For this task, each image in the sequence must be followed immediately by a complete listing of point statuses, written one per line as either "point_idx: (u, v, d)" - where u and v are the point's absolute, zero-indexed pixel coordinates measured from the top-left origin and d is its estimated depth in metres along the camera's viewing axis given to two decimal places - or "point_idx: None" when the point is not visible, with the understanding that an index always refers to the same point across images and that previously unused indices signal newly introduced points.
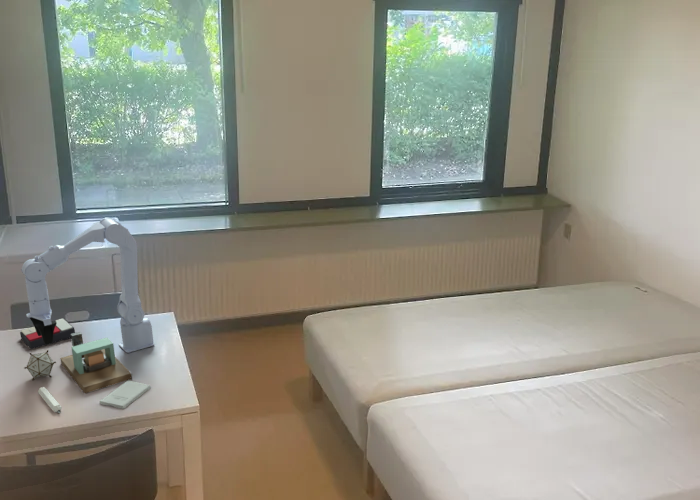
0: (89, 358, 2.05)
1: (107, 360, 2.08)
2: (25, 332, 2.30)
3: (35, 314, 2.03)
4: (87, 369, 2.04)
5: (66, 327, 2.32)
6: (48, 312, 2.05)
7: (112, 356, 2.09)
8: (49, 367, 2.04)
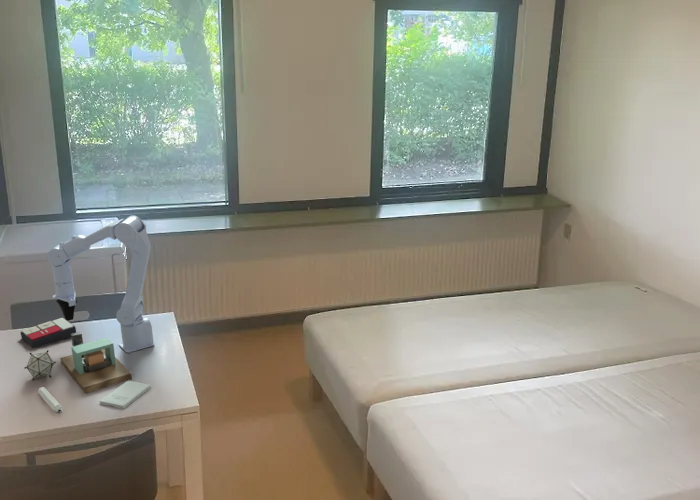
0: (89, 358, 2.05)
1: (107, 360, 2.08)
2: (26, 332, 2.30)
3: (61, 296, 2.19)
4: (87, 369, 2.04)
5: (67, 326, 2.33)
6: (72, 294, 2.20)
7: (112, 356, 2.09)
8: (49, 367, 2.04)
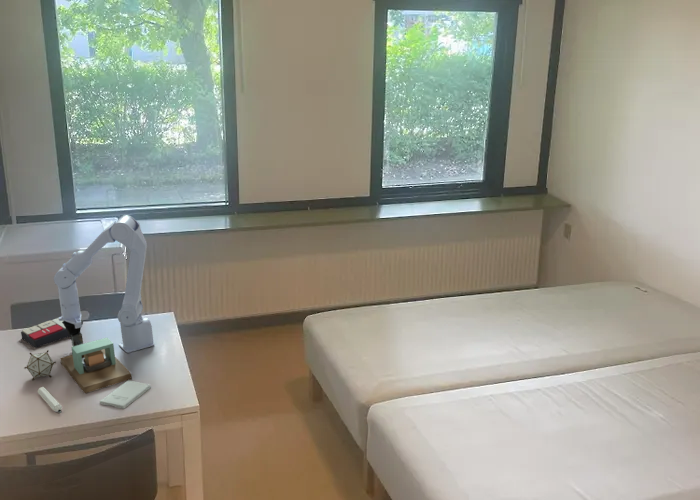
0: (89, 358, 2.05)
1: (107, 360, 2.08)
2: (27, 331, 2.30)
3: (66, 317, 2.18)
4: (87, 369, 2.04)
5: None
6: (78, 316, 2.20)
7: (112, 356, 2.09)
8: (49, 367, 2.04)
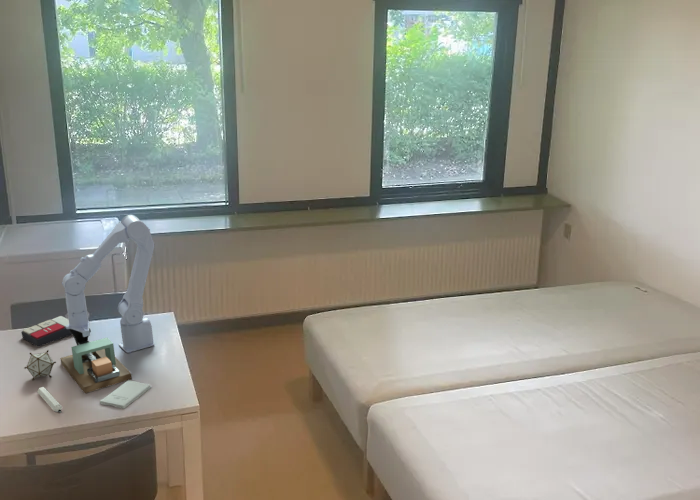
0: (97, 367, 1.99)
1: (116, 370, 2.02)
2: (28, 331, 2.31)
3: (74, 326, 2.12)
4: (96, 379, 1.98)
5: None
6: (86, 324, 2.14)
7: (112, 356, 2.09)
8: (49, 367, 2.04)
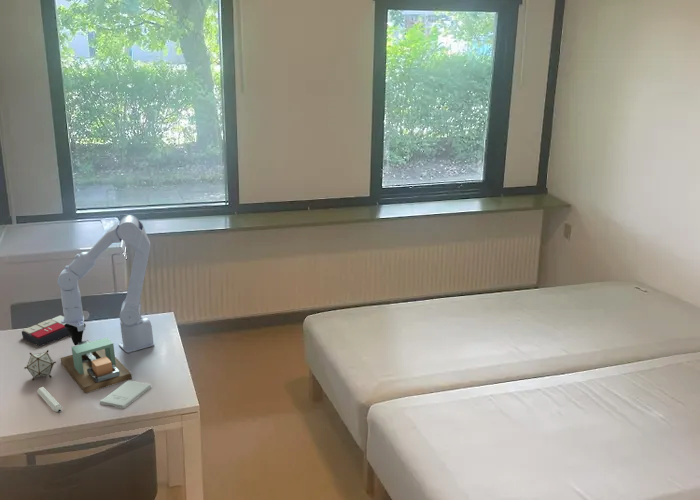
0: (97, 367, 1.99)
1: (116, 370, 2.02)
2: (28, 331, 2.31)
3: (69, 320, 2.16)
4: (96, 379, 1.98)
5: None
6: (81, 318, 2.18)
7: (112, 356, 2.09)
8: (49, 367, 2.04)
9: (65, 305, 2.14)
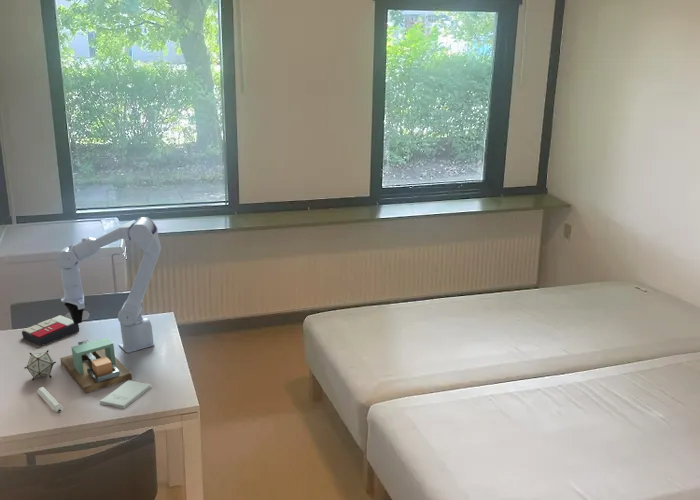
0: (97, 367, 1.99)
1: (116, 370, 2.02)
2: (29, 331, 2.31)
3: (69, 299, 2.16)
4: (96, 379, 1.98)
5: (70, 322, 2.36)
6: (81, 297, 2.18)
7: (112, 356, 2.09)
8: (49, 367, 2.04)
9: (64, 283, 2.15)
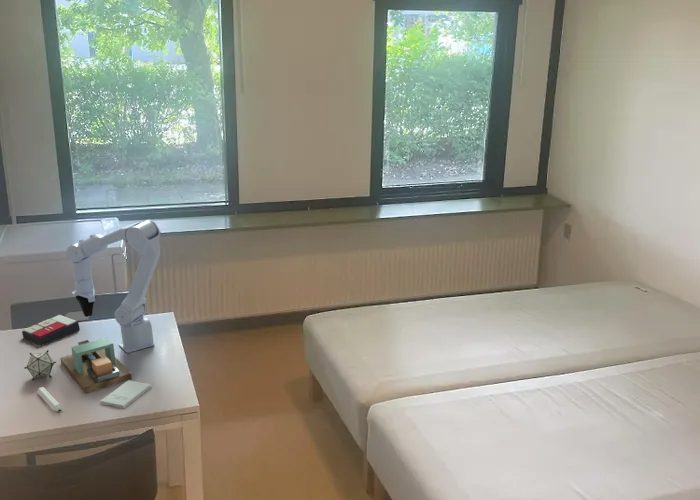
0: (97, 367, 1.99)
1: (116, 370, 2.02)
2: (29, 330, 2.31)
3: (80, 292, 2.22)
4: (96, 379, 1.98)
5: (70, 321, 2.37)
6: (92, 290, 2.24)
7: (112, 356, 2.09)
8: (49, 367, 2.04)
9: (74, 276, 2.21)
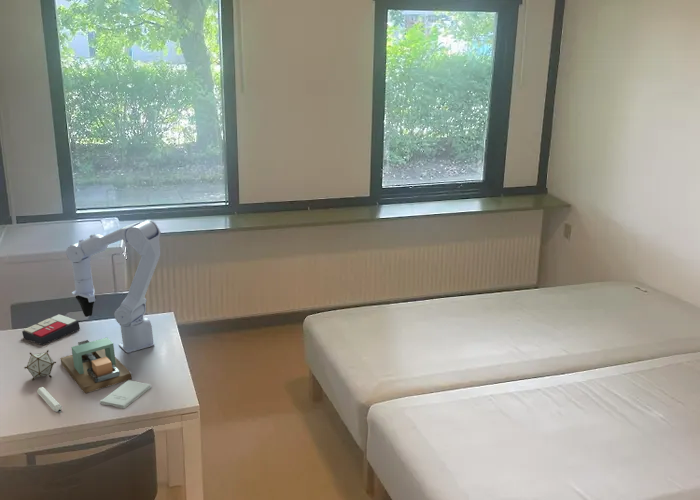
0: (97, 367, 1.99)
1: (116, 370, 2.02)
2: (29, 330, 2.31)
3: (80, 292, 2.22)
4: (96, 379, 1.98)
5: (70, 321, 2.37)
6: (92, 290, 2.24)
7: (112, 356, 2.09)
8: (49, 367, 2.04)
9: (74, 276, 2.21)
